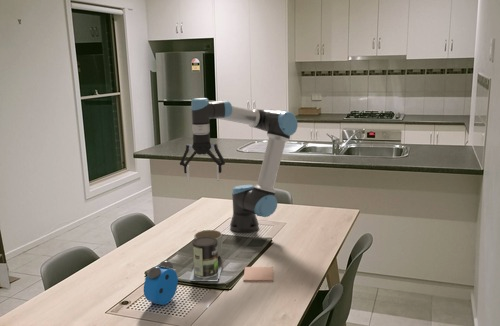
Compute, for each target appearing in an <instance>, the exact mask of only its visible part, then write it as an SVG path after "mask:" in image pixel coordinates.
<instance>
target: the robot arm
mask: <svg viewBox="0 0 500 326" xmlns="http://www.w3.org/2000/svg"><path fill="white" fill-rule="evenodd" d="M190 107H191V108H190V110H191V122H192V124H191V126H192V133H193V134H192V142H193V143H192V144H189V143H187V144H186V145H185V150H184V153H183V155H182V157H181V160H180V162H179V165H180V166H182V167H183V171H184V174H186V181H187V182H189V181H190V180H191V179H190V177H191V176H190V165H188V164H189V163H190V162H191V161H192V159H194V157H195V156H196V154H197V155H198V156H199V155H208V156H209V157H210V158H211V160H212V161H214V163H215V164H216V181H220V174H221V173H222V166H223V165H225V164H226V161H225V158H224V156H223V155H222V153H221V151H220V150H219V148H218V144H217V143H214V144H211V134H210V132H211V131H210V130H211V129H210V128H211V127H210V120H212V119H218V120H223V121H226V122H227V121H228V122H232V123H233V122H234V123H238V124H243V125H248V126H249V127H251V128H255V129H258V130H261V131H265V132H267V133H266V135H267V137H268V141H267V145H266V148H265V152H264V156H263V160H262V163H261V168H260V171H259V176H258V178H257V183H256V184H254V185H253V184H242V185H241V184H240V185H236V186H234V187H233V188H232V195H231V196H232V217H231V221H230V224H229V225H230V227H229V228H230V230H231V231H232V232H235V233H251V232H255V231H257V230H258V229H259V227H260V226H259V224H260V223H259V221H258V218H257V217H262V218H267V217H268V218H269V217H270V216H271V215H273V214H274V213H275V212H276V210H277V207H278V200H277V197H276V190H275V184H276V180H277V177H278V176H277V175H278V172H279V168H280V164H281V160H282V156H283V153H284V149H285V145H286V143H287V142H288V141H289V140H290V137H291V136H293V135H294V134H295V133H296V132H297V130H298V119H297V118H296V115H295V114H294V113H293V112H291V111H287V110H278V109H277V110H276V109H258V108H252V109H248V108H243V107H239V106H234V105H232V103H231V102H230V101H229V100H209V98H207V97H197V98H196V97H195V98H192V99H191V104H190ZM211 148H212V149H213V150H214V152H215V154H216V156H217V157H218V158H217V157H216V156H215V154H214V153H213V152H212V151H211ZM191 149H193V151H194V152H192V154H191V155H190V156H189V158H188V159H187V160H186V158H187V156H188V154H189V152H190V150H191ZM185 160H186V161H185Z"/></svg>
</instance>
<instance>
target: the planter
mask: <svg viewBox="0 0 500 326" xmlns="http://www.w3.org/2000/svg"><path fill="white" fill-rule="evenodd" d="M200 237H213V238H215V239H217V241H218V242H217V250H218V258H219V257H220V255H221V254H222V250H223V249H222V246H223V233H222V232H221V231H219V230H214V229H206V230H200V231H197V232H195V234H194V239H197V238H200Z"/></svg>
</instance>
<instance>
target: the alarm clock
mask: <svg viewBox="0 0 500 326" xmlns="http://www.w3.org/2000/svg"><path fill="white" fill-rule="evenodd" d="M173 267H174V266H173V263H172V262H171V261H169V260H168V259H167V260H163V261H161V262H160V263H159V265H156V266H153V267H151V268H149V270H148V271H147V275H146V277H145V279H144V283H143V295H144V298H145V300H146V301H148V302H151V305H154V304H158V305H161V306H162V305H164V306H165V305H168V304H169V303H170V302H171V301H172V299H173V298H174V296H175V295H176V292H177V289H178V285H179V284H178V282H179V281H178V280H179V279H178V275H177V272H176V271H175V270H174V269H173Z"/></svg>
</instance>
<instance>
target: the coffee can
mask: <svg viewBox="0 0 500 326" xmlns="http://www.w3.org/2000/svg"><path fill="white" fill-rule="evenodd" d="M191 242H192V255H193V256H192V257H193V258H192V259H193V260H192V261H193V268H194V275H195V276H196V277H198V278H211V277H214V276H216V275H217V274H218V267H219V259H218V258H219V257H218V250H217V242H218V241H217V239H215V238H213V237H200V238H197V239H195V238H194V239H193V240H192V241H191Z"/></svg>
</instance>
